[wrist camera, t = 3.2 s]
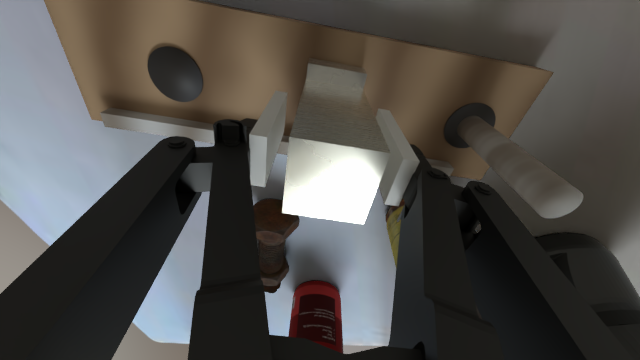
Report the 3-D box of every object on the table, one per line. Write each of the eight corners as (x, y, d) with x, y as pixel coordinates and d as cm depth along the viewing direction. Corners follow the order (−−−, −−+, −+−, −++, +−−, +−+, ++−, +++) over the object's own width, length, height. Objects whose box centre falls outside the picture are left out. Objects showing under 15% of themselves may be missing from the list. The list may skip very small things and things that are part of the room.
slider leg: (363, 67, 18) (400, 129, 9) (345, 140, 21) (358, 237, 12) (309, 57, 18) (291, 111, 9) (300, 133, 21) (280, 227, 12)
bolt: (269, 261, 39) (273, 190, 30) (294, 279, 37) (307, 209, 28) (242, 290, 35) (236, 217, 25) (269, 311, 33) (274, 242, 24)
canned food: (311, 309, 43) (306, 388, 34) (284, 287, 40) (271, 370, 31) (349, 298, 41) (355, 380, 32) (324, 273, 37) (323, 359, 28)
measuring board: (535, 67, 20) (739, 127, 10) (470, 169, 25) (559, 270, 16) (59, -27, 17) (-302, -71, 7) (108, 111, 23) (-56, 190, 13)
